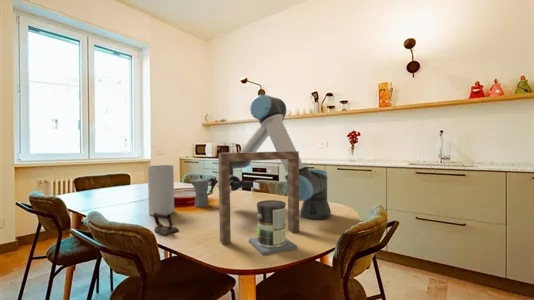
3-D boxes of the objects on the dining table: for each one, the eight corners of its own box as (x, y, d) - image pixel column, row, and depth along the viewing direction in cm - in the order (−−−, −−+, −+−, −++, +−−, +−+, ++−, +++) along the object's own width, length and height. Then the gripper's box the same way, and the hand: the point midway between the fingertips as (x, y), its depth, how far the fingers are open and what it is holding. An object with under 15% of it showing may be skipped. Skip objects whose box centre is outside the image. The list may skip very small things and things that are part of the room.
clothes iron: (166, 237, 106) (160, 213, 106) (149, 239, 112) (143, 216, 112) (180, 231, 112) (174, 208, 112) (163, 233, 118) (157, 211, 118)
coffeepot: (193, 208, 151) (193, 176, 151) (188, 205, 159) (187, 175, 158) (218, 204, 160) (218, 174, 160) (212, 202, 168) (211, 173, 167)
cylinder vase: (168, 208, 151) (167, 164, 151) (178, 213, 142) (177, 166, 142) (145, 213, 143) (144, 166, 142) (154, 217, 134) (153, 167, 133)
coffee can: (258, 248, 90) (257, 206, 90) (256, 237, 101) (256, 200, 100) (288, 247, 91) (287, 205, 91) (283, 236, 101) (283, 199, 101)
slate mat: (280, 236, 104) (280, 234, 104) (297, 248, 93) (297, 245, 93) (248, 241, 99) (248, 239, 99) (262, 255, 87) (262, 252, 87)
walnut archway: (294, 229, 113) (293, 151, 113) (299, 232, 110) (298, 151, 109) (219, 241, 100) (218, 153, 100) (222, 244, 97) (221, 153, 96)
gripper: (254, 187, 145) (270, 193, 126) (207, 192, 135) (217, 199, 115) (253, 173, 145) (270, 177, 125) (207, 177, 135) (217, 182, 115)
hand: (245, 188), depth 120 cm, fingers open, 13 cm apart
